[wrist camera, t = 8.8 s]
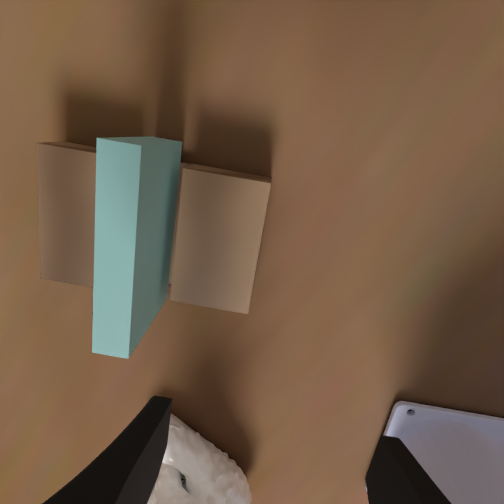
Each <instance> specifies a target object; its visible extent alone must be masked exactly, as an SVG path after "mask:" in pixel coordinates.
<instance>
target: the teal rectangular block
mask: <svg viewBox="0 0 504 504" xmlns="http://www.w3.org/2000/svg"><path fill="white" fill-rule="evenodd" d="M181 151H182V142H181V141H175V140H169V139H164V138H158V137H152V136H148V137H111V138H97V146H96V194H95V241H94V289H93V336H92V353H98V354H104V355H109V356H115V357H121V358H127V359H129V357H130V356H131V354H132V352H133V351H134V349H135V348H136V346H137V345H138V343H139V341H140V340H141V338H142V337H143V335H144V334H145V332H146V331H147V329H148V327H149V326H150V324H151V323H152V321H153V320H154V318H155V316H156V315H157V313H158V312H159V310H160V309H161V307H162V305H163V304H164V302H165V301H166V299H167V296H168V285H169V275H170V265H171V254H172V244H173V234H174V223H175V213H176V203H177V192H178V182H179V171H180V161H181Z"/></svg>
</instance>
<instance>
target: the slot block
mask: <svg viewBox="0 0 504 504" xmlns="http://www.w3.org/2000/svg"><path fill="white" fill-rule="evenodd" d="M36 158H37V187H38V216H39V245H40V274H41V279H47V280H53V281H58V282H64V283H70V284H76V285H82V286H87V287H93V288H94V241H95V194H96V147H94V146H88V145H82V144H76V143H70V142H45V143H36ZM270 187H271V177H267V176H262V175H256V174H250V173H244V172H238V171H233V170H227V169H221V168H215V167H209V166H204V165H198V164H192V163H186V162H180V171H179V182H178V192H177V203H176V213H175V223H174V234H173V244H172V254H171V265H170V275H169V284H172V286H171V296H170V301H174V302H180V303H186V304H192V305H197V306H203V307H209V308H215V309H221V310H226V311H232V312H238V313H244V314H248V310H249V304H250V299H251V293H252V288H253V282H254V276H255V271H256V265H257V260H258V254H259V249H260V243H261V237H262V232H263V226H264V221H265V215H266V209H267V204H268V198H269V193H270Z"/></svg>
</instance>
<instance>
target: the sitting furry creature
mask: <svg viewBox="0 0 504 504" xmlns="http://www.w3.org/2000/svg"><path fill="white" fill-rule="evenodd" d="M181 478H183V479H186V480H183V481H182V482H181ZM251 499H252V493H251V492H250V491H249V484H248V483H247V478H246V476H245V475H244V473H243V472H242V469H241V468H240V467H238V466H237V465H236V462H235V460H233V459H229V458H228V454H227V453H225V452H222V451H221V450H220V449H218V448H216V447H215V446H214V444H213V443H211V442H209V441H207V440H206V439H204V438H203V437H202V436H200V434H199V432H195V431H194V430H193V429H191V428H190V427H189V426H187V425H186V424H185V423H183V422H182V421H181V420H180V419H179V418H178V417H176V416H174V415H173V414H171V416H170V425H169V434H168V443H167V447H166V451H165V454H164V458H163V461H162V465H161V468H160V471H159V475H158V478H157V480H156V483H155V485H154V488H153V490H152V493H151V495H150V498H149V500H148V503H147V504H251V503H252V502H251Z"/></svg>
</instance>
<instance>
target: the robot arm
mask: <svg viewBox="0 0 504 504" xmlns="http://www.w3.org/2000/svg"><path fill="white" fill-rule="evenodd" d="M171 407H172V399H171V398H165V397H159V396H153V397H152V398H151V399H150V400H149V401H148V403H147V404H146V405H145V407H144V408H143V409H142V410H141V411H140V413H139V414H138V415H137V416H136V417H135V418H134V419H133V421H132V422H131V423H130V424H129V425H128V426H127V427H126V428H125V429H124V430H123V432H122V433H121V434H120V435H119V436H118V437H117V438H116V439H115V440H114V441H113V442H112V443H111V444H110V445H109V446H108V447H107V448H106V449H105V450H104V451H103V452H102V453H101V454H100V455H99V456H98V457H97V458H96V459H95V460H94V461H92V462H91V463H90V464H89V465H88V466H87V467H86V468H85V469H84V470H83V471H82V472H80V473H79V474H78V475H77V476H76V477H75V478H74V479H72V480H71V481H70V482H69V483H68V484H66V485H65V486H64V487H63V488H62V489H60V490H59V491H58V492H57V493H55V494H54V495H53V496H52V497H50V498H49V499H48V500H46V501H45V502H44V503H42V504H147V503H148V500H149V498H150V495H151V493H152V490H153V488H154V485H155V483H156V480H157V478H158V475H159V471H160V468H161V465H162V461H163V458H164V454H165V451H166V447H167V443H168V434H169V425H170V416H171ZM410 409H412V410H411V411H408V410H410ZM365 480H366V483H365V488H366V491H367V494H368V500H369V504H504V418H499V417H493V416H487V415H481V414H475V413H470V412H464V411H458V410H452V409H447V408H441V407H435V406H429V405H423V404H418V403H412V402H406V401H399V402H397V403H395V405H394V407H393V409H392V412H391V415H390V418H389V420H388V423H387V426H386V429H385V431H384V434H383V435H381V437H380V440H379V443H378V445H377V448H376V451H375V454H374V456H373V459H372V462H371V465H370V468H369V470H368V473H367V476H366V479H365Z"/></svg>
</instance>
